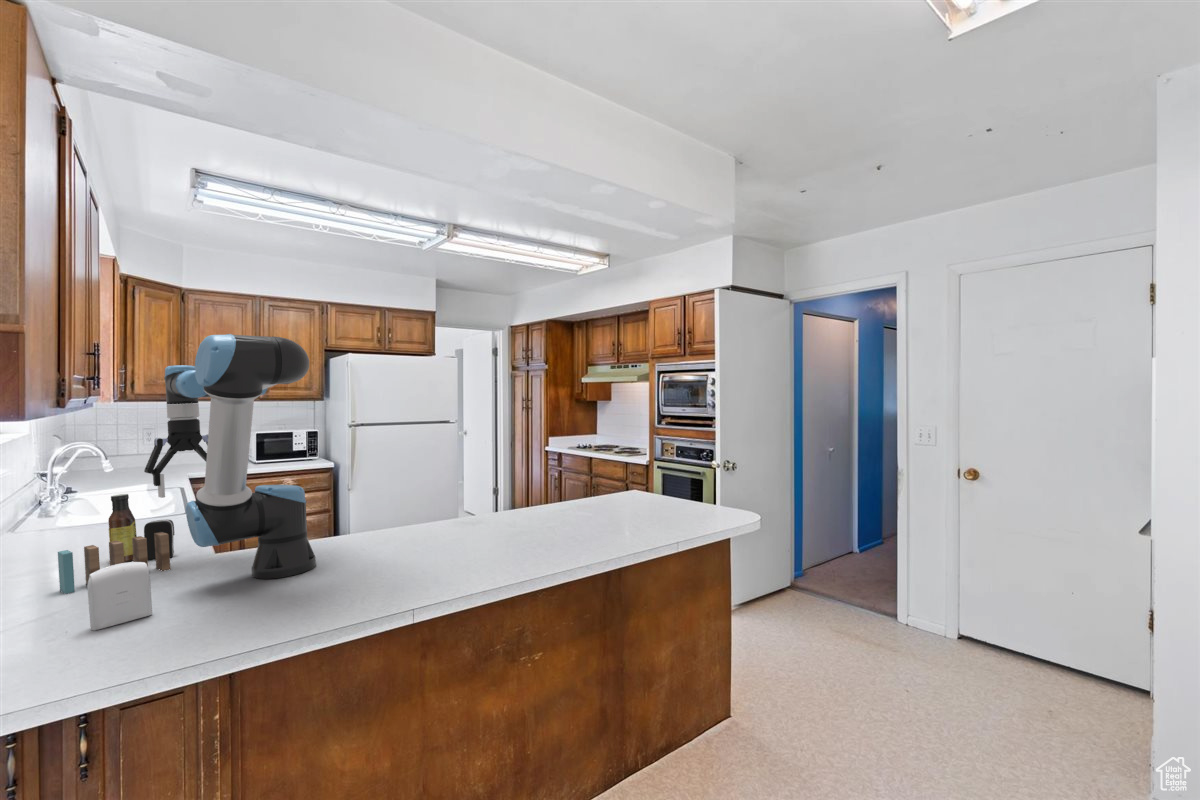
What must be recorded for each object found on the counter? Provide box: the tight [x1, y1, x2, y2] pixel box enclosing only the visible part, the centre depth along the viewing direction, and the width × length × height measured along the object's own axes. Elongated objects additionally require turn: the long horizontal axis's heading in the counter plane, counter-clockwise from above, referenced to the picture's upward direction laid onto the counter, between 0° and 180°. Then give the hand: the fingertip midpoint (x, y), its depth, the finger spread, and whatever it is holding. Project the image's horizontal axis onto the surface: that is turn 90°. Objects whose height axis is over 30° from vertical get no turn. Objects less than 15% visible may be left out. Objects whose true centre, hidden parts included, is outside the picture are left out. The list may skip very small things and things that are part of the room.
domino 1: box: [57, 549, 76, 595], centre depth 142 cm, size 5×2×10 cm, turn 55°
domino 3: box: [108, 541, 125, 566], centre depth 150 cm, size 5×2×10 cm, turn 55°
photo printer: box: [86, 561, 153, 631], centre depth 120 cm, size 10×4×12 cm, turn 140°
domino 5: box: [154, 532, 171, 572], centre depth 158 cm, size 5×2×10 cm, turn 55°
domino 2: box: [83, 544, 101, 586], centre depth 146 cm, size 5×2×10 cm, turn 55°
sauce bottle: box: [107, 493, 138, 563], centre depth 169 cm, size 7×6×20 cm
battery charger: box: [143, 519, 176, 561], centre depth 170 cm, size 7×4×11 cm, turn 113°
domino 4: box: [132, 535, 149, 568], centre depth 154 cm, size 5×2×10 cm, turn 55°
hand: (187, 493), depth 164 cm, fingers open, 12 cm apart
